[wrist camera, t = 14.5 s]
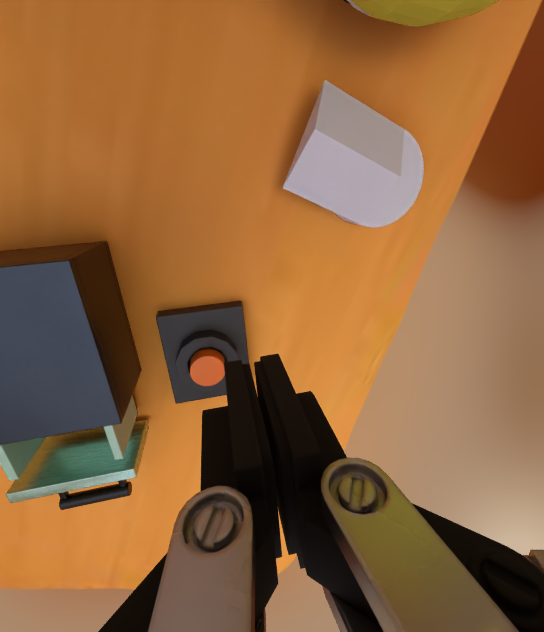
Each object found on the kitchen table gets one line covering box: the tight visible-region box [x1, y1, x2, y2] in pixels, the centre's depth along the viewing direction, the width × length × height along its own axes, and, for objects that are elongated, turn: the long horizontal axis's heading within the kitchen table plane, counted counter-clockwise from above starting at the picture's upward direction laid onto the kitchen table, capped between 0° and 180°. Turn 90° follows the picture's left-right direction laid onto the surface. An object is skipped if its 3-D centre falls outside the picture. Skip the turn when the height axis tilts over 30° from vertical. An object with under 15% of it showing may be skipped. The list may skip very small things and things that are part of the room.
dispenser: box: [0, 241, 141, 445], centre depth 28 cm, size 15×13×9 cm
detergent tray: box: [0, 396, 149, 510], centre depth 32 cm, size 18×11×7 cm, turn 4°
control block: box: [156, 301, 249, 403], centre depth 35 cm, size 11×9×4 cm
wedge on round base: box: [282, 80, 424, 227], centre depth 29 cm, size 9×7×13 cm
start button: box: [190, 348, 225, 386], centre depth 33 cm, size 4×4×2 cm
